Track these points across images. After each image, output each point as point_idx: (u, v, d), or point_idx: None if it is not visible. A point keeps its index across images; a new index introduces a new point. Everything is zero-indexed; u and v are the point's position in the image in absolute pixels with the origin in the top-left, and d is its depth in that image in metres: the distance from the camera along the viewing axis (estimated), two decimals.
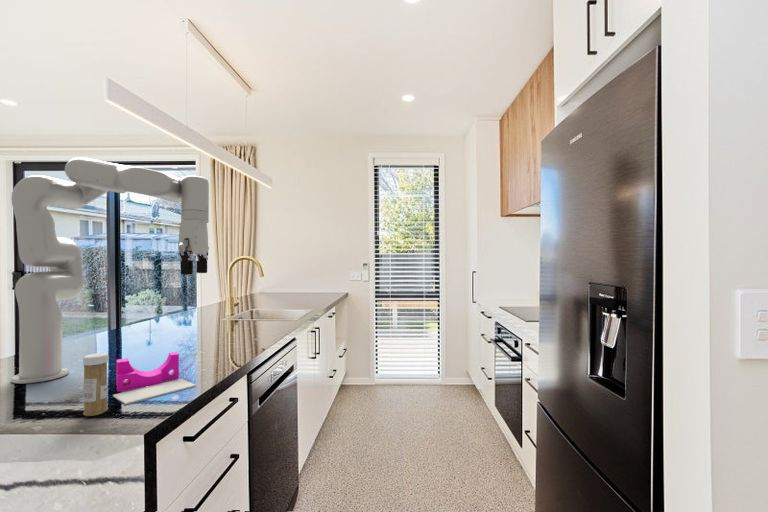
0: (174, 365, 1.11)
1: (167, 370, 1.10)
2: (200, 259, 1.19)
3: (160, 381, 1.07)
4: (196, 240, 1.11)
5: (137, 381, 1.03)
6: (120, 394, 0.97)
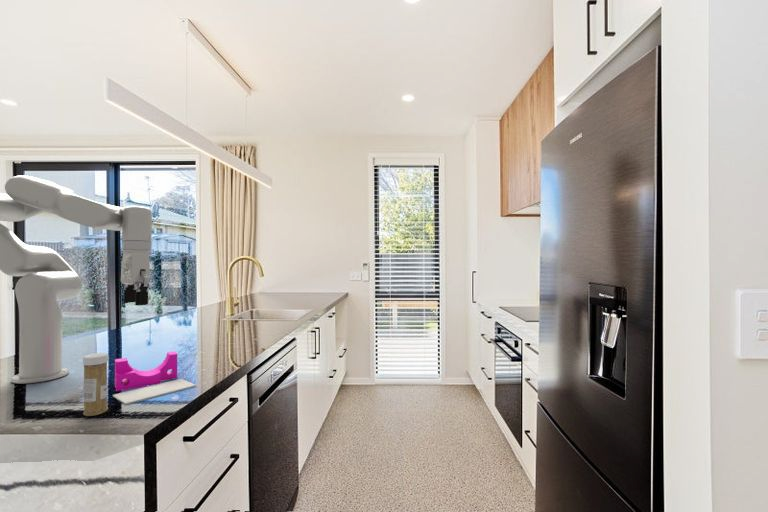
0: (172, 365, 1.12)
1: (165, 370, 1.10)
2: (129, 288, 1.17)
3: (159, 381, 1.07)
4: None
5: (136, 380, 1.04)
6: (120, 394, 0.97)
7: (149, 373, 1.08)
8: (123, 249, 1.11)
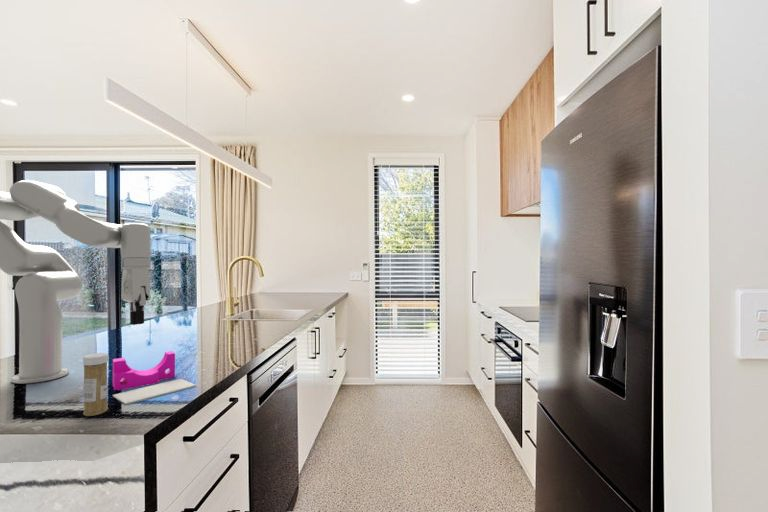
0: (170, 364, 1.12)
1: (163, 369, 1.11)
2: None
3: (157, 380, 1.08)
4: None
5: (134, 380, 1.04)
6: (120, 394, 0.97)
7: (147, 372, 1.09)
8: (123, 267, 1.11)
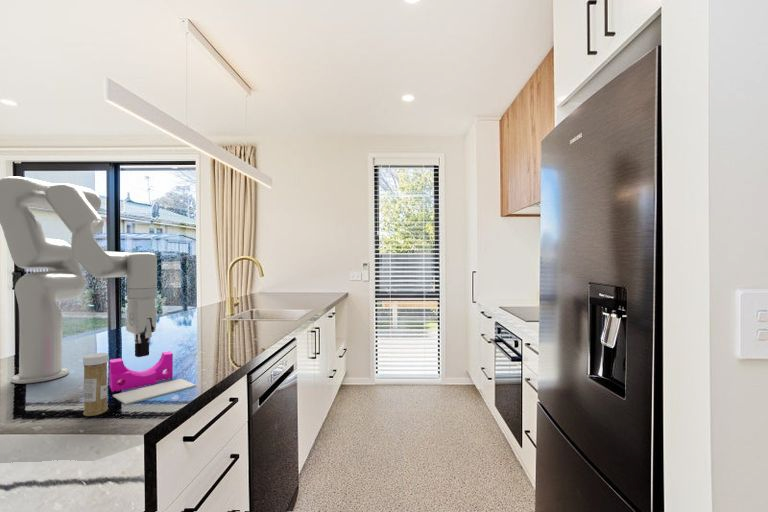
0: (168, 364, 1.11)
1: (161, 369, 1.10)
2: None
3: (155, 380, 1.07)
4: None
5: (132, 381, 1.03)
6: (120, 394, 0.97)
7: (144, 373, 1.08)
8: (128, 298, 1.08)
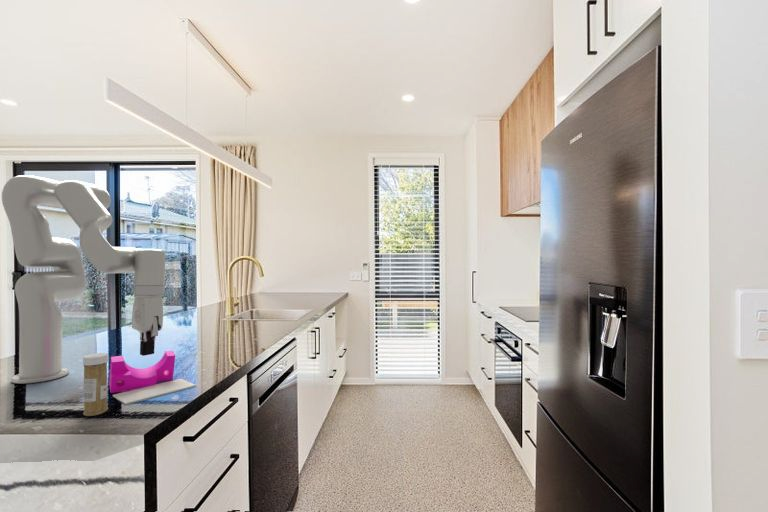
0: (169, 366, 1.09)
1: (162, 370, 1.08)
2: None
3: (154, 383, 1.05)
4: None
5: (131, 382, 1.01)
6: (120, 394, 0.97)
7: (145, 373, 1.05)
8: (135, 295, 1.06)
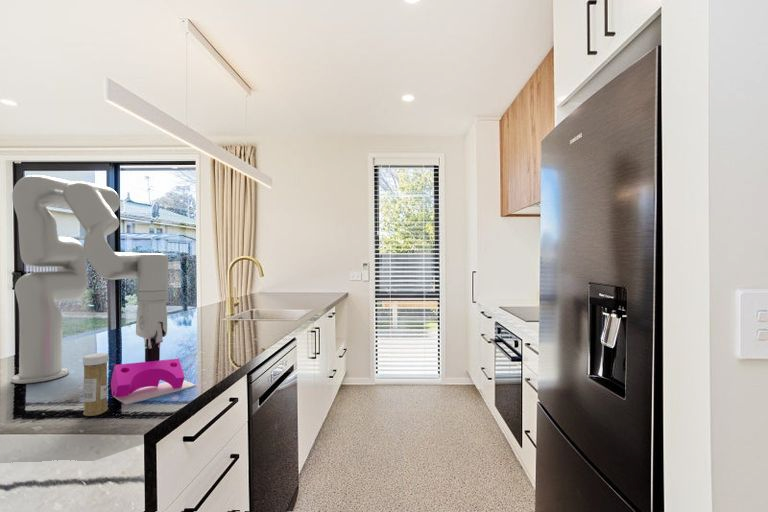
0: None
1: None
2: None
3: None
4: None
5: None
6: None
7: (149, 379, 1.01)
8: (139, 300, 1.03)
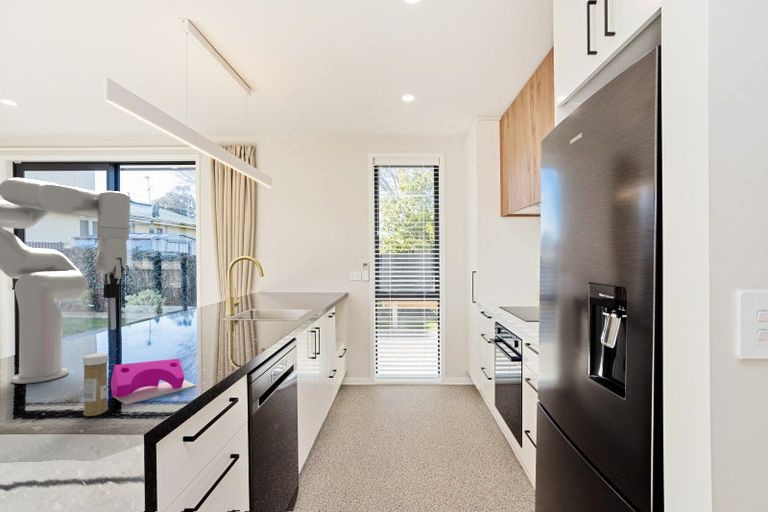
0: None
1: None
2: None
3: None
4: None
5: None
6: None
7: (149, 379, 1.01)
8: (98, 236, 1.06)
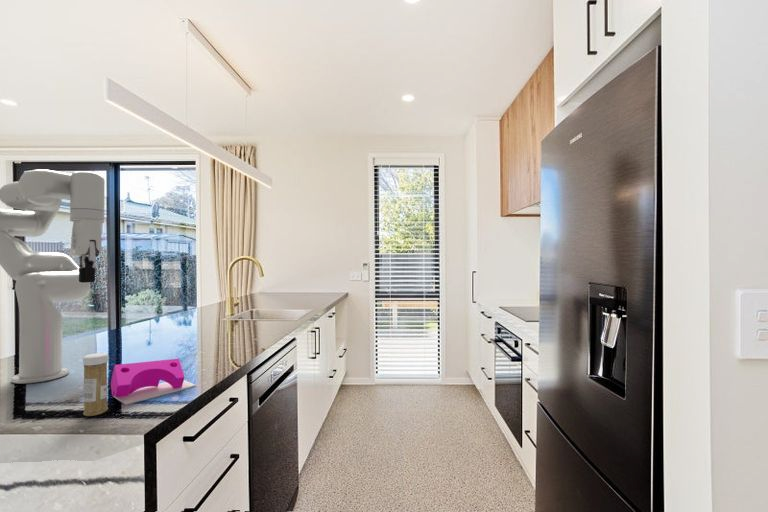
0: None
1: None
2: None
3: None
4: None
5: None
6: None
7: (149, 379, 1.01)
8: (71, 218, 1.02)
